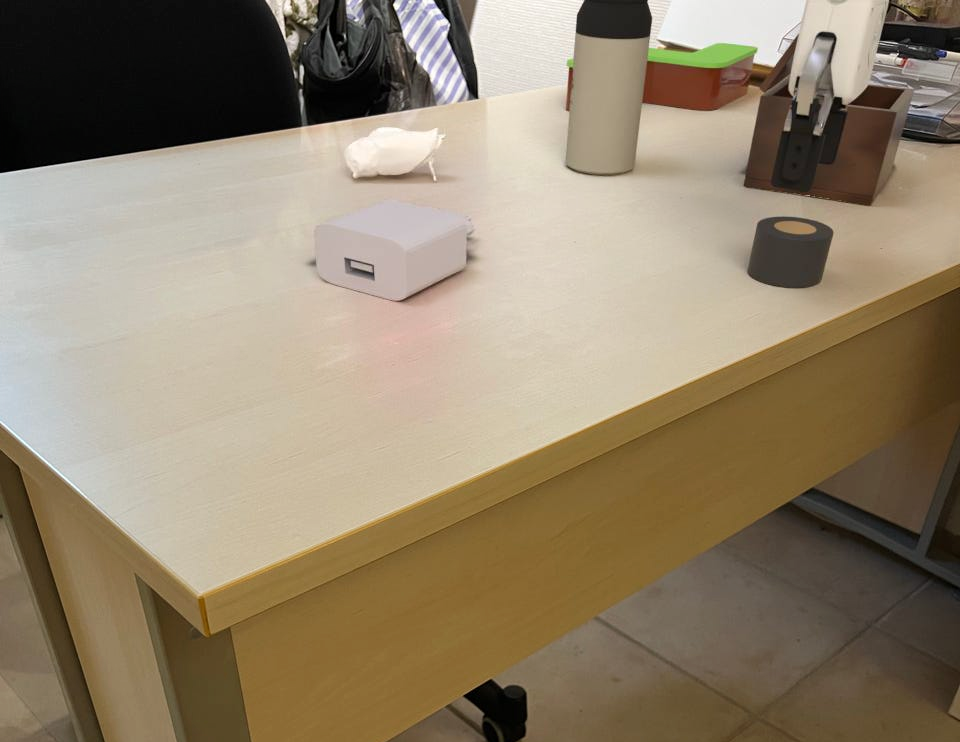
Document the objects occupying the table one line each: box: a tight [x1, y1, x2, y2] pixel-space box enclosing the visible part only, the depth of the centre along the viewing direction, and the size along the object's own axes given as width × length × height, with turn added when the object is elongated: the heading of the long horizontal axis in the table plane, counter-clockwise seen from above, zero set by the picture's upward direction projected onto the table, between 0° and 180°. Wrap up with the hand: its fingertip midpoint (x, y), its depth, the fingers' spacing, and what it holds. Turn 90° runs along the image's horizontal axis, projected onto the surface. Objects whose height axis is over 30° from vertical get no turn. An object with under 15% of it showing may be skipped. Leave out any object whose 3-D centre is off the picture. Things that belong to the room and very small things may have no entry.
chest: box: [743, 75, 915, 207], centre depth 104 cm, size 14×14×9 cm
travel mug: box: [565, 0, 653, 176], centre depth 103 cm, size 8×8×18 cm
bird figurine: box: [343, 126, 446, 182], centre depth 102 cm, size 5×7×10 cm
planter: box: [565, 42, 758, 112], centre depth 137 cm, size 30×18×6 cm, turn 150°
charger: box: [313, 198, 476, 301], centre depth 81 cm, size 5×9×15 cm
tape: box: [747, 216, 835, 289], centre depth 82 cm, size 6×6×4 cm
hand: (803, 174), depth 78 cm, fingers open, 9 cm apart
